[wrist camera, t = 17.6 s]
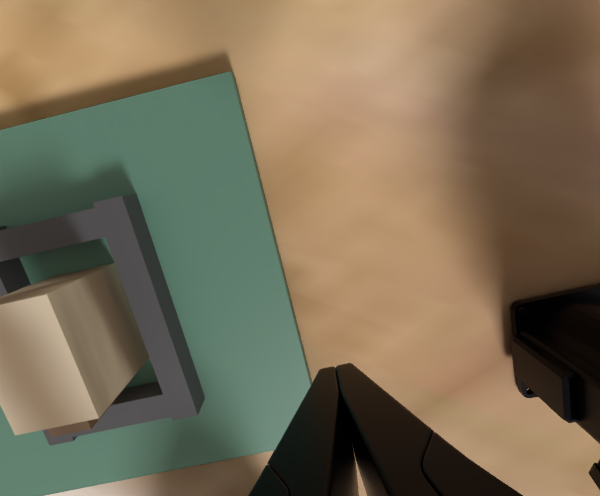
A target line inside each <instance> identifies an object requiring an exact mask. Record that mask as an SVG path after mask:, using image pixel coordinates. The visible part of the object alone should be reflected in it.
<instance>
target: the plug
mask: <svg viewBox="0 0 600 496" xmlns="http://www.w3.org/2000/svg"><path fill="white" fill-rule="evenodd" d="M148 359H149V355H148V352H147V349H146V347H145V344H144V341H143V338H142V336H141V333H140V330H139V328H138V325H137V322H136V319H135V317H134V314H133V311H132V309H131V306H130V303H129V300H128V298H127V295H126V292H125V289H124V287H123V284H122V281H121V279H120V276H119V273H118V270H117V268H116V265H115V263H111V264H106V265H102V266H97V267H93V268H89V269H84V270H80V271H76V272H71V273H67V274H62V275H58V276H54V277H49V278H46V279H44V280H41V281H39V282H36V283H34V284H31V285H29V286H26V287H24V288H21V289H19V290H16V291H14V292H11V293H9V294H6V295H4V296H1V297H0V406H1V408H2V410H3V412H4V414H5V416H6V418H7V420H8V422H9V424H10V426H11V428H12V430H13V432H14V434H15V435H20V434H25V433H30V432H35V431H40V430H45V429H47V430H48V432H49V434H50V436H51V437H55V436H60V435H65V434H70V433H75V432H80V431H85V430H90V429H92V428H93V426H94V425H95V424H96V423H97V422H98V420H99V419H100V418H101V417H102V415H103V414H104V413H105V412H106V411H107V409H108V408H109V407H110V406H111V405H112V403H113V402H114V401H115V400H116V398H117V397H118V396H119V395H120V394H121V392H122V391H123V390H124V389H125V388H126V386H127V385H128V384H129V383H130V381H131V380H132V379H133V378H134V375H135V374H136V373H137V372H138V371H139V369H140V368H141V367H142V366H143V365H144V363H145V362H146V361H147V360H148Z"/></svg>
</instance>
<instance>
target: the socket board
mask: <svg viewBox="0 0 600 496" xmlns="http://www.w3.org/2000/svg"><path fill="white" fill-rule="evenodd" d="M111 263H115V265H116V268H117V270H118V273H119V276H120V279H121V281H122V284H123V287H124V289H125V292H126V295H127V298H128V300H129V303H130V306H131V309H132V311H133V314H134V317H135V319H136V322H137V325H138V328H139V330H140V333H141V336H142V338H143V341H144V344H145V347H146V349H147V352H148V355H149V359H148V360H147V361H146V362H145V363H144V365H143V366H142V367H141V368H140V369H139V371H138V372H137V373H136V374H135V375H134V378H133V379H132V380H131V381H130V383H129V384H128V385H127V386H126V388H125V389H124V390H123V391H122V392H121V394H120V395H119V396H118V397H117V398H116V400H115V401H114V402H113V403H112V405H111V406H110V407H109V408H108V409H107V411H106V412H105V413H104V414H103V415H102V417H101V418H100V419H99V420H98V422H97V423H96V424H95V425H94V426H93V428H92V429H90V430H85V431H80V432H75V433H70V434H65V435H60V436H55V437H51V436H50V434H49V432H48V430H47V429H45V430H40V431H35V432H30V433H25V434H20V435H15V434H14V432H13V430H12V428H11V426H10V424H9V422H8V420H7V418H6V416H5V414H4V412H3V410H2V408H1V406H0V496H44V495H49V494H54V493H59V492H64V491H69V490H74V489H79V488H84V487H90V486H95V485H100V484H105V483H110V482H115V481H120V480H125V479H130V478H135V477H140V476H145V475H151V474H156V473H161V472H166V471H171V470H176V469H181V468H186V467H191V466H196V465H201V464H206V463H212V462H217V461H222V460H227V459H232V458H237V457H242V456H247V455H252V454H257V453H262V452H267V451H273V450H275V449H276V447H277V445H278V443H279V442H280V440H281V438H282V436H283V434H284V433H285V431H286V429H287V427H288V425H289V424H290V422H291V420H292V418H293V417H294V415H295V413H296V411H297V409H298V408H299V406H300V404H301V402H302V400H303V399H304V397H305V395H306V393H307V391H308V390H309V388H310V386H311V384H312V381H311V377H310V373H309V369H308V365H307V361H306V357H305V353H304V349H303V345H302V341H301V337H300V333H299V329H298V325H297V321H296V317H295V313H294V309H293V305H292V301H291V297H290V293H289V289H288V286H287V282H286V278H285V274H284V270H283V266H282V262H281V258H280V254H279V250H278V246H277V242H276V238H275V234H274V230H273V226H272V222H271V218H270V214H269V210H268V206H267V202H266V198H265V194H264V190H263V186H262V182H261V178H260V174H259V171H258V167H257V163H256V159H255V155H254V151H253V147H252V143H251V139H250V135H249V131H248V127H247V123H246V119H245V115H244V111H243V107H242V103H241V99H240V95H239V91H238V87H237V83H236V79H235V76H234V75H233V73H232V72H231V71H229V72H225V73H221V74H217V75H213V76H209V77H205V78H202V79H198V80H194V81H190V82H186V83H182V84H178V85H174V86H170V87H166V88H162V89H158V90H155V91H151V92H147V93H143V94H139V95H135V96H131V97H127V98H123V99H119V100H115V101H112V102H108V103H104V104H100V105H96V106H92V107H88V108H84V109H80V110H76V111H72V112H69V113H65V114H61V115H57V116H53V117H49V118H45V119H41V120H37V121H33V122H29V123H25V124H22V125H18V126H14V127H10V128H6V129H2V130H0V297H1V296H4V295H6V294H9V293H11V292H14V291H16V290H19V289H21V288H24V287H26V286H29V285H31V284H34V283H36V282H39V281H41V280H44V279H46V278H49V277H54V276H58V275H62V274H67V273H71V272H76V271H80V270H84V269H89V268H93V267H97V266H102V265H106V264H111Z"/></svg>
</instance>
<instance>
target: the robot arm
mask: <svg viewBox="0 0 600 496" xmlns="http://www.w3.org/2000/svg"><path fill="white" fill-rule="evenodd" d="M522 307H523V310H522V311H521V312H519V310H520V308H522ZM510 312H511V322H512V332H513V337H512V340H511V344H512V354H513V364H514V373H515V375H516V376H517V383H518V390H519V392H520V393H521V394H522V395H523V396H524V397H526V398H533V397H539V398H540V399H541V400H543V401H544V402H545V403H546V404H547V405H548V406H549V407H550V408H551V409H552V410H553V411H554V412H556V413H557V414H558V415H559V416H560V417H561V418H562V419H563V420H565V421H567V422H568V423H573V422H576V423H577V424H578V425H579V426H581V427H582V428H583V429H584V430H585V431H586V432H587V433H588V434H590V435H591V436H592V437H593V438H594V439H595V440H596V441H597V442H599V443H600V284H595V285H591V286H586V287H581V288H576V289H572V290H567V291H562V292H557V293H553V294H548V295H543V296H539V297H534V298H529V299H524V300H520V301H516V302H514V303H513V304H512V306H511V309H510ZM528 388H529V389H528ZM527 389H528V390H527ZM526 390H527V391H526ZM353 449H354V450H353ZM354 453H355V456H354ZM355 458H356V462H357V465H358V468H359V471H360V474H361V477H362V480H363V483H364V487H365V490H366V493H367V496H523V495H521V494H520V493H518V492H517V491H515V490H514V489H512V488H511V487H509V486H508V485H506V484H505V483H503V482H502V481H500V480H499V479H497V478H496V477H494V476H493V475H491V474H490V473H489V472H487V471H486V470H484V469H483V468H481V467H480V466H478V465H477V464H476V463H474V462H473V461H471V460H470V459H468V458H467V457H466V456H465V455H463V454H462V453H461V452H459V451H458V450H457V449H456V448H454V447H453V446H452V445H450V444H449V443H448V442H447V441H445V440H444V439H443V438H442V437H441V436H439V435H438V434H437V433H435V432H434V431H433V430H432V429H431V428H429V427H428V426H427V425H426V424H425V423H423V422H422V421H421V420H420V419H419V418H417V417H416V416H415V415H414V414H412V413H411V412H410V411H409V410H408V409H406V408H405V407H404V406H403V405H402V404H400V403H399V402H398V401H397V400H395V399H394V398H393V397H392V396H391V395H389V394H388V393H387V392H386V391H385V390H383V389H382V388H381V387H380V386H378V385H377V384H376V383H375V382H374V381H372V380H371V379H370V378H369V377H368V376H366V375H365V374H364V373H363V372H361V371H360V370H359V369H358V368H357V367H355V366H354V365H353V364H351V363H347V364H342V365H338V366H337V367H336V368H335V367H328V368H323V369H320V370H319V372H318V374H317V375H316V377H315V379H314V381H313V383H312V384H311V386H310V388H309V390H308V391H307V393H306V395H305V397H304V399H303V400H302V402H301V404H300V406H299V408H298V409H297V411H296V413H295V415H294V417H293V418H292V420H291V422H290V424H289V425H288V427H287V429H286V431H285V433H284V434H283V436H282V438H281V440H280V442H279V443H278V445H277V447H276V449H275V451H274V452H273V454H272V456H271V458H270V459H269V461H268V465H266V466H265V468H264V470H263V472H262V473H261V475H260V477H259V479H258V481H257V482H256V484H255V486H254V487H253V489H252V491H251V492H250V494H249V496H359V493H358V482H357V471H356V462H355ZM589 474H590V476H591V477H592V479H593V480H594V482H595V483H596V485H597V486H598V488H599V489H600V460H599V461H598V463H594V464H593V466H592V467H591V469H590V471H589Z"/></svg>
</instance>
